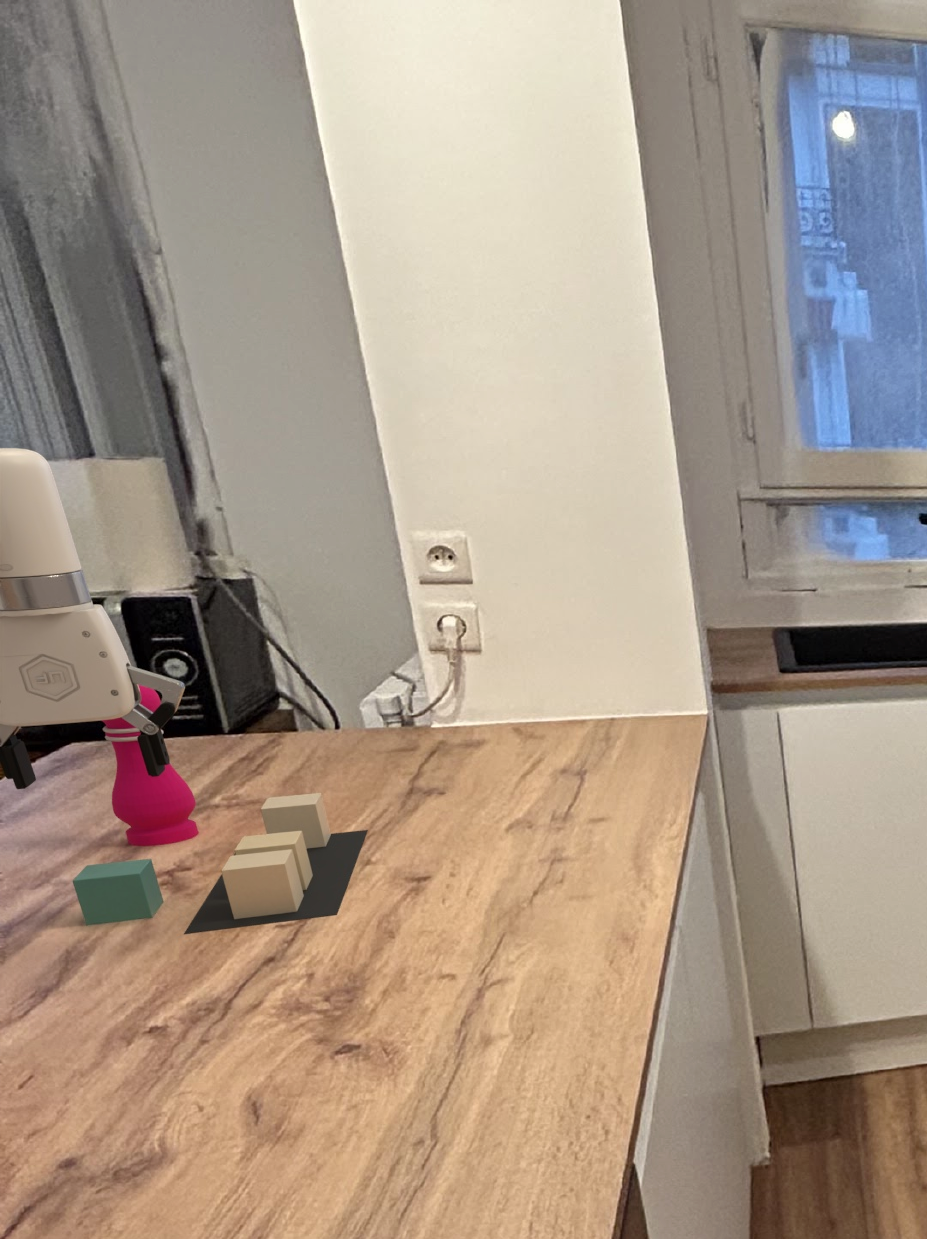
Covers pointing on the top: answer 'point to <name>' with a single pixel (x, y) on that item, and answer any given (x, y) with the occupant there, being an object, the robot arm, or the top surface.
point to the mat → (319, 898)
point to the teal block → (118, 891)
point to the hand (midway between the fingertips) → (93, 779)
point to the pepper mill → (148, 788)
